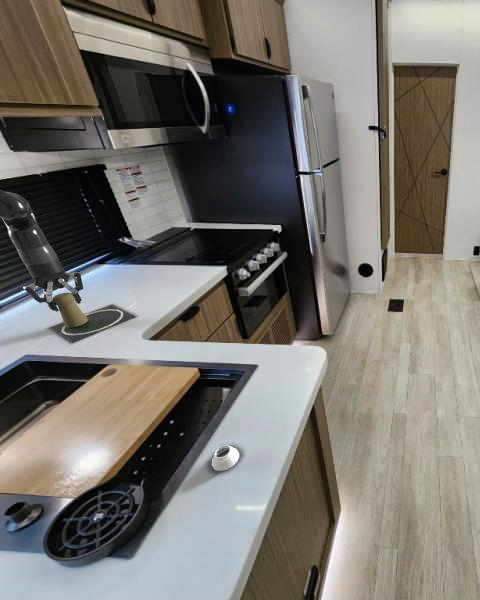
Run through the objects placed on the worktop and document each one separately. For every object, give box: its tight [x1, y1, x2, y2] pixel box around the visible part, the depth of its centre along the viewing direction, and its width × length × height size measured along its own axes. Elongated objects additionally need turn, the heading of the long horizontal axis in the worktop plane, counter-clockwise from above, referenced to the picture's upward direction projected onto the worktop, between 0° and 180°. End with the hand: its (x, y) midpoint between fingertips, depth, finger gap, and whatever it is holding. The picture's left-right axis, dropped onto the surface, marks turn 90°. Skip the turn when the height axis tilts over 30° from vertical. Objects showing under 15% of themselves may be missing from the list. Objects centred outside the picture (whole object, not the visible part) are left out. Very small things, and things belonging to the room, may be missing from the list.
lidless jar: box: [211, 444, 240, 472], centre depth 67 cm, size 5×3×5 cm
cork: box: [52, 292, 88, 328], centre depth 111 cm, size 6×6×11 cm
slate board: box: [50, 304, 136, 344], centre depth 116 cm, size 18×18×1 cm
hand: (67, 306), depth 111 cm, fingers closed on cork, 5 cm apart
